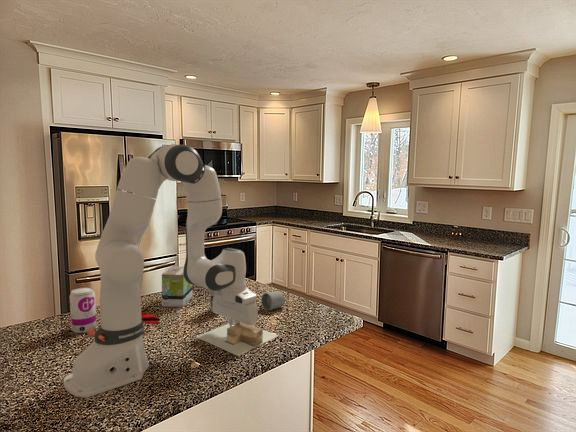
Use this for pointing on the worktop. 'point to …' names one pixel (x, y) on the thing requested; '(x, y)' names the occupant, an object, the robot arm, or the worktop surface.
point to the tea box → (175, 288)
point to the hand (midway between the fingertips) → (234, 330)
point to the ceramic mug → (272, 300)
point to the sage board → (220, 340)
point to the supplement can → (82, 310)
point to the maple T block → (245, 334)
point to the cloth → (149, 316)
